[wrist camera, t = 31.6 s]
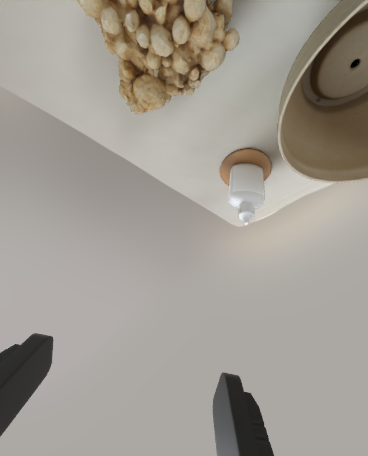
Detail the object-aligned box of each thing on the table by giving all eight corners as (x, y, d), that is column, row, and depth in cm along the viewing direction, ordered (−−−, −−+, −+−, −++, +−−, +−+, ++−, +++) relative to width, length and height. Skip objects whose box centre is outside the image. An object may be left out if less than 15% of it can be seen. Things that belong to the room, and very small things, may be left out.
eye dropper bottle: (242, 154, 32) (242, 209, 26) (266, 170, 34) (271, 224, 27) (226, 171, 35) (222, 222, 29) (249, 184, 37) (249, 236, 31)
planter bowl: (246, 114, 27) (247, 162, 21) (353, -118, 13) (437, -160, 7) (347, 144, 28) (375, 198, 22) (543, -41, 14) (746, -26, 9)
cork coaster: (228, 143, 31) (228, 144, 31) (281, 155, 31) (281, 156, 31) (214, 182, 39) (214, 183, 38) (256, 191, 39) (256, 193, 39)
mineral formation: (78, -65, 17) (253, -132, 13) (139, 91, 29) (240, 82, 25) (33, -30, 14) (242, -103, 10) (122, 128, 26) (233, 124, 22)
